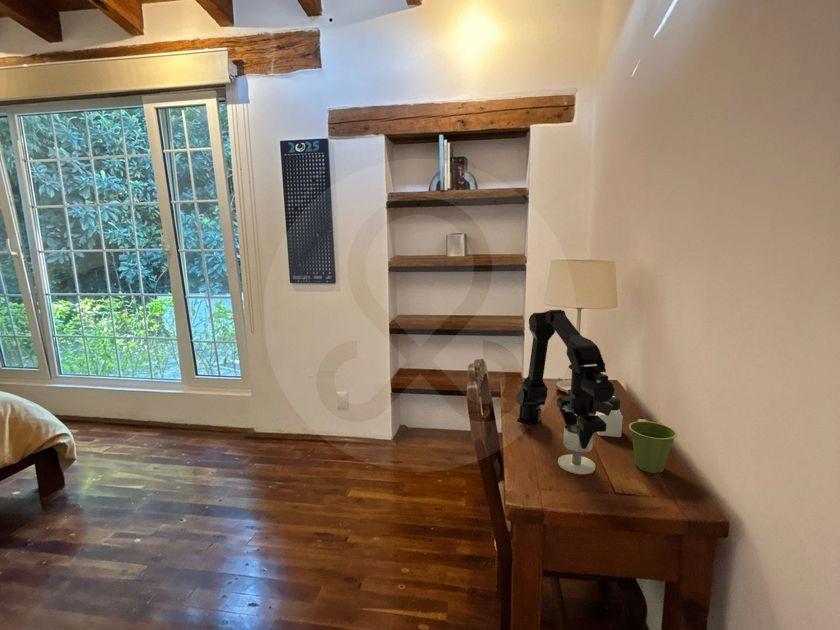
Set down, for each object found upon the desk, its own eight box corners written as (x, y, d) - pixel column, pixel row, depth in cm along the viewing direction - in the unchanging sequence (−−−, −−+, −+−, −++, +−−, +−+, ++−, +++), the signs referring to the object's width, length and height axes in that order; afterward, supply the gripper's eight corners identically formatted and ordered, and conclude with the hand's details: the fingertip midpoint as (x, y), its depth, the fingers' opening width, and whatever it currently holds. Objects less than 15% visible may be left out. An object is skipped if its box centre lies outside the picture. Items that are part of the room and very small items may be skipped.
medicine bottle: (621, 437, 143) (624, 402, 141) (598, 435, 145) (600, 400, 142) (616, 428, 150) (619, 394, 148) (594, 426, 151) (596, 392, 149)
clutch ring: (570, 452, 121) (571, 435, 120) (560, 440, 128) (561, 424, 127) (596, 451, 122) (597, 434, 121) (584, 439, 129) (585, 423, 128)
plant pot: (665, 459, 129) (669, 422, 127) (678, 480, 118) (683, 441, 116) (621, 454, 132) (624, 418, 130) (630, 475, 121) (634, 436, 119)
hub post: (552, 466, 125) (553, 451, 124) (565, 453, 133) (566, 438, 132) (588, 478, 119) (589, 462, 118) (600, 463, 127) (601, 448, 126)
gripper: (628, 400, 114) (623, 457, 116) (594, 377, 132) (590, 426, 135) (586, 401, 113) (582, 459, 115) (557, 378, 131) (554, 428, 134)
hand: (577, 442), depth 125 cm, fingers closed on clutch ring, 7 cm apart
